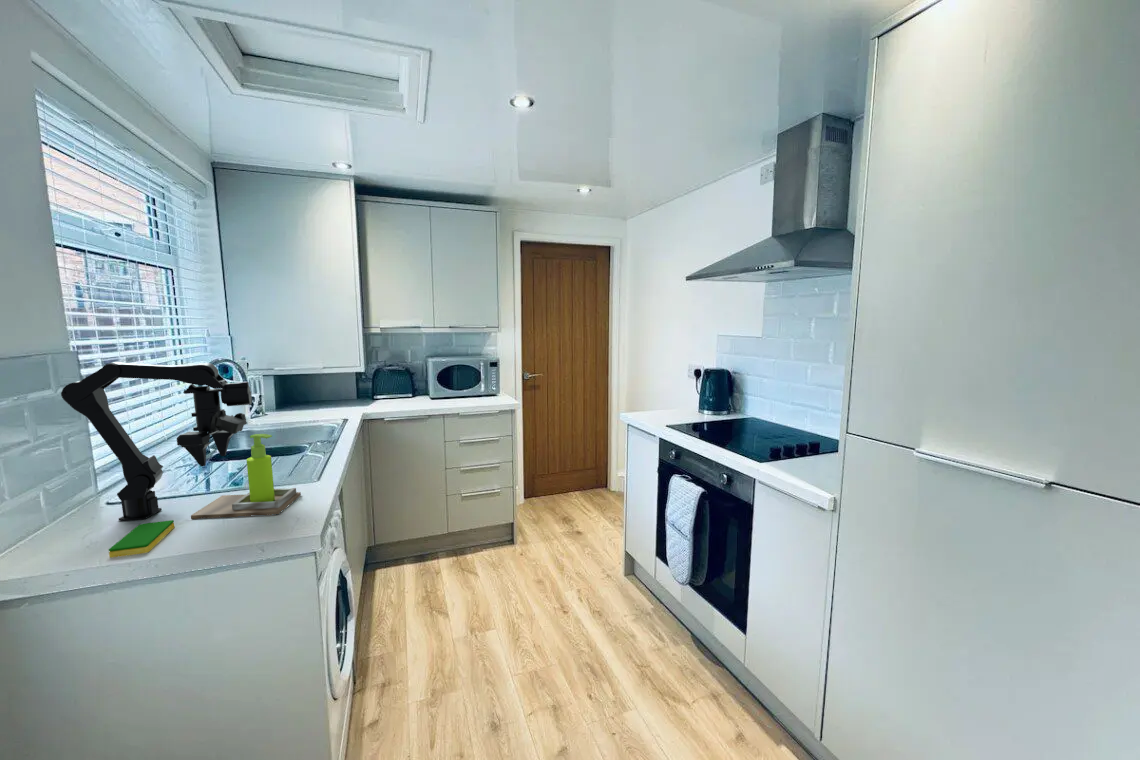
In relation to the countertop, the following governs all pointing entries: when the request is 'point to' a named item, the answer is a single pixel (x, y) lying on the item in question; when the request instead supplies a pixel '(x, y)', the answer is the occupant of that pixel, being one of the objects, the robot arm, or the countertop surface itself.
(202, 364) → the robot arm
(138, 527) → the dish sponge
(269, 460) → the soap dispenser
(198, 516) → the walnut holder board
